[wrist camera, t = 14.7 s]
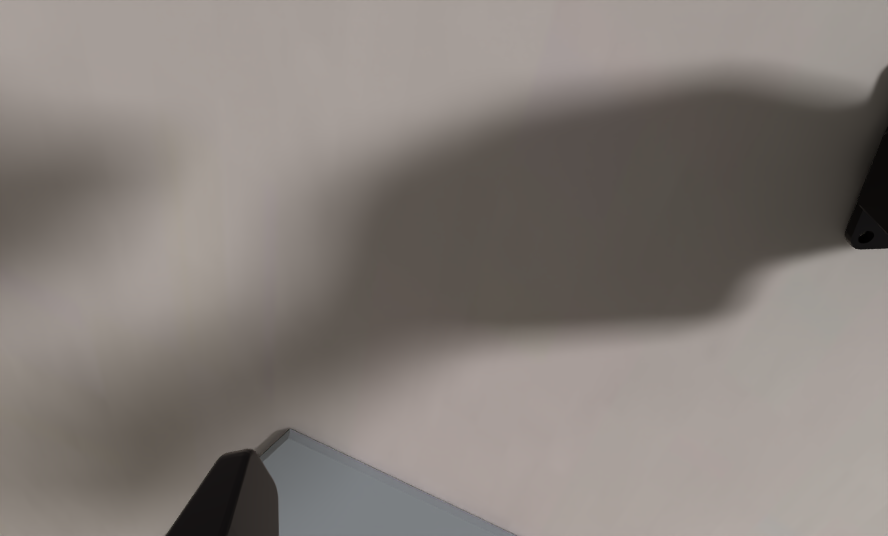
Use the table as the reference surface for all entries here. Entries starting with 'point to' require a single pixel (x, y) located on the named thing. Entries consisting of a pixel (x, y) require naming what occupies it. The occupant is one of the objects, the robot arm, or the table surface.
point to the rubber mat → (355, 497)
